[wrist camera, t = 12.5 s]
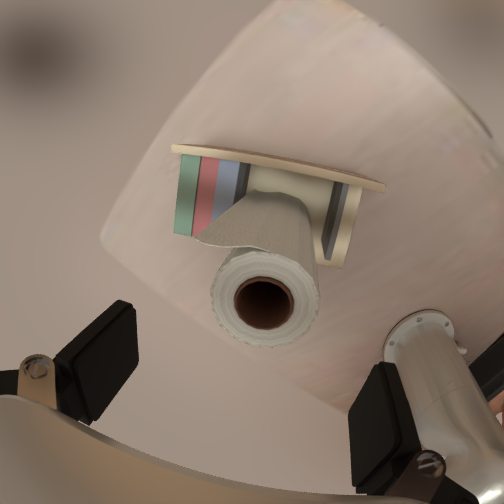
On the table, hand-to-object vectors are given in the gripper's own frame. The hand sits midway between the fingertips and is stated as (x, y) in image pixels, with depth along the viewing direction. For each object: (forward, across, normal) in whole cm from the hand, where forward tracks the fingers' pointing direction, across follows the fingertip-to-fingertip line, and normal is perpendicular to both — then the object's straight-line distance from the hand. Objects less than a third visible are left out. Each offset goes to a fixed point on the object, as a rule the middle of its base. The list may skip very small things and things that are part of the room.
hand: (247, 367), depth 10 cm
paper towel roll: (+27, 0, 0) cm, 27 cm away
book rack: (+28, +2, -1) cm, 28 cm away
